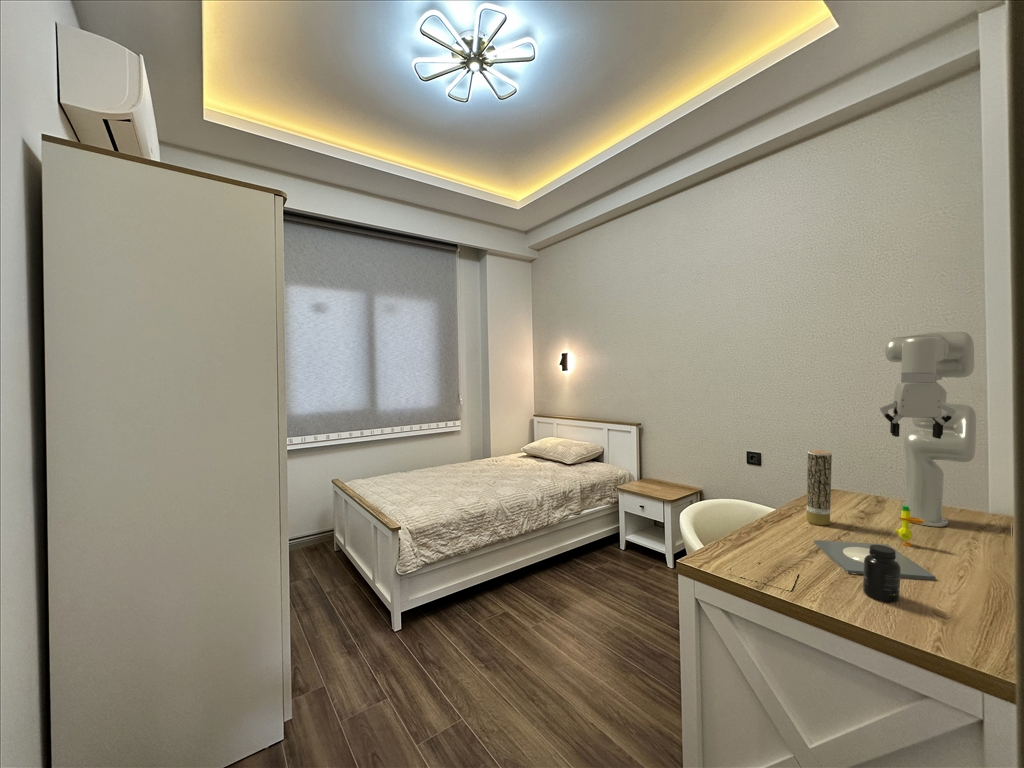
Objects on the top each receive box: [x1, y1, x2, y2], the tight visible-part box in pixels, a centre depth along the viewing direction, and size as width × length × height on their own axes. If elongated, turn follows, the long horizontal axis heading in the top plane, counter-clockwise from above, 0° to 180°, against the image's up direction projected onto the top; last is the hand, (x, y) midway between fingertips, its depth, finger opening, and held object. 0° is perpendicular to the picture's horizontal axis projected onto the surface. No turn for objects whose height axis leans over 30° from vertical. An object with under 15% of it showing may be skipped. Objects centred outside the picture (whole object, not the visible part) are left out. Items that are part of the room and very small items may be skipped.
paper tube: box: [806, 449, 833, 526], centre depth 154 cm, size 7×7×25 cm
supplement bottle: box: [862, 543, 901, 604], centre depth 107 cm, size 7×7×12 cm
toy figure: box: [894, 506, 924, 547], centre depth 135 cm, size 7×4×12 cm, turn 47°
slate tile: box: [813, 539, 936, 581], centre depth 127 cm, size 20×20×1 cm
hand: (915, 437), depth 131 cm, fingers open, 9 cm apart
